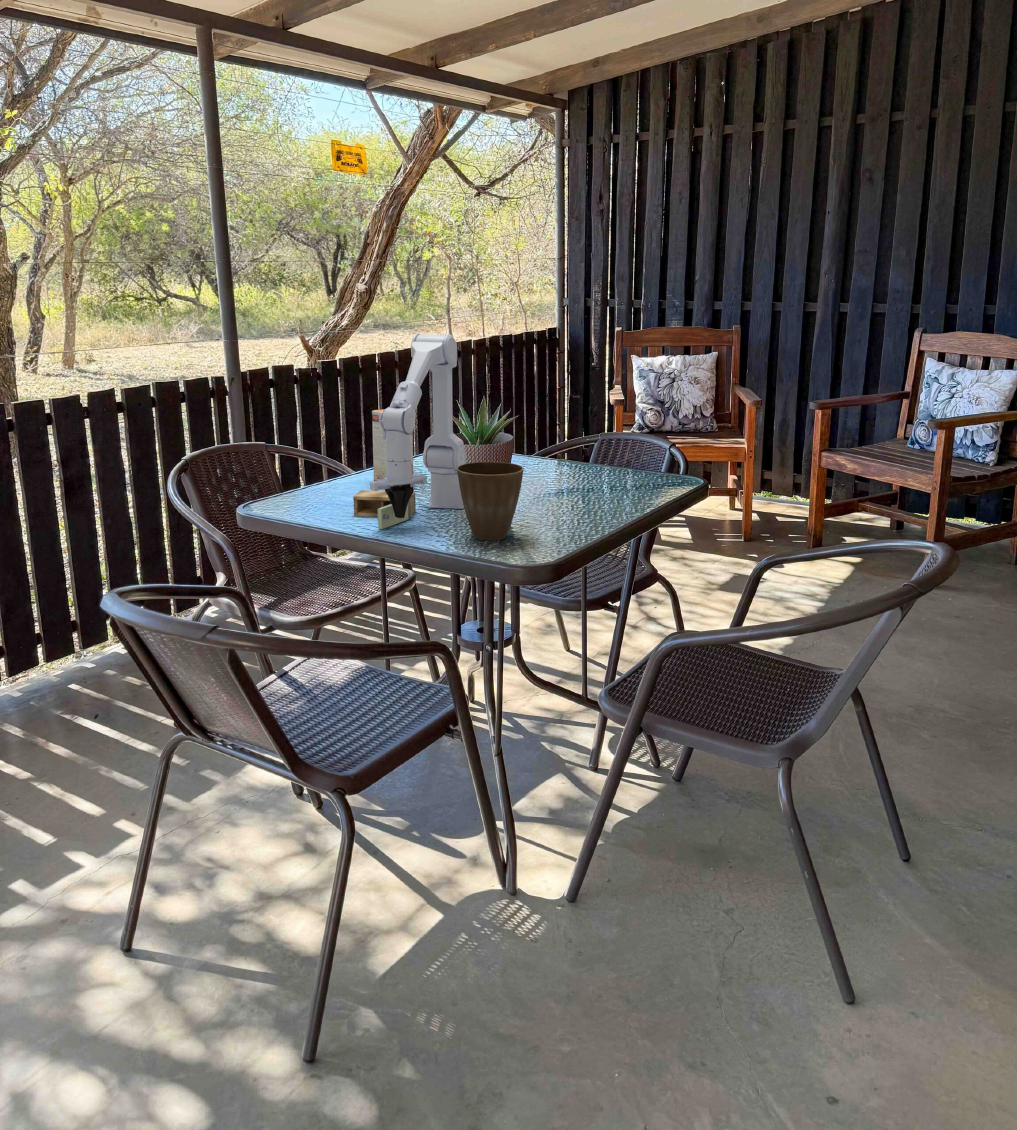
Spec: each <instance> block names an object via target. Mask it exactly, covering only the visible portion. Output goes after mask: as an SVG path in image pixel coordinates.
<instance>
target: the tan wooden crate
mask: <svg viewBox="0 0 1017 1130" xmlns="http://www.w3.org/2000/svg"><path fill="white" fill-rule="evenodd" d="M352 497H353V499H352V500H353V516H354V517H373V518H378V509H379V508H382V507H384V506H387V505H390V504H391V501H390V499H389V497H388V495H387V494H386V492H385V490H378V491H372V490H364V489H362V490H359V491H358V492H357V493H355V494H354V495H353V496H352ZM410 498H411V517H413V515H414V514H415V513H416V512H417V509H416V504H417V503H416V491H414V492H413V494H412V496H411V497H410Z"/></svg>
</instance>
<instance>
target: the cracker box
mask: <svg viewBox="0 0 1017 1130" xmlns="http://www.w3.org/2000/svg"><path fill="white" fill-rule="evenodd" d="M385 409H386V408H385ZM385 409H384V408H383V409H374V410H372V411H371V422H372V458H373V459H372V461H373V462H372V463H373V481H377V480H381V479H384V478H387V477H386V442H385V440H384V438H383V432H382V429H381V426H380V420H381V414H382V412H383V410H385ZM413 431H414V430H413ZM413 431H412V432H411V433H410V442H411V475H414V435H413ZM411 487H413V488H414V485H411Z"/></svg>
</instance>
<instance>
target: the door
mask: <svg viewBox="0 0 1017 1130" xmlns="http://www.w3.org/2000/svg"><path fill="white" fill-rule="evenodd" d="M411 519H412V516H411V498H410V500H409V502H408V505H407V508H406V513H405V517H404V518H397V517H395V514H394V510H393V507H392V504H390V505H387V506H384V507H382V508H379V509H378V517H377V527H378V528H377V529H378V530H384V529H386V528H389V527H391V526H394V525H397V524H399V523H402V522H405V521H407V520H411Z"/></svg>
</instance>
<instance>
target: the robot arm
mask: <svg viewBox="0 0 1017 1130" xmlns="http://www.w3.org/2000/svg"><path fill="white" fill-rule="evenodd" d="M410 353H411V358H412V359H411V363H410V366H409V369H408V373H407V376H406V379H405V381H401V382H400V383H399V384H398V386H397V388H396V391H395V393H394V395H393V397H392V400H391V402H390V405H389V406H388V407H387V408H385V410H384V409H382V410H383V412H382V414H381V420H380V426H381V429H382V432H383V438H384V440H385V442H386V477H387V478H384V479H381V480H377V481H374V480H373V481H369V491H383V490H384V491H385V492H386V494H387V495H388V497H389V499H390V501H391V504H392V507H393V510H394V514H395V517H397V518H404V517H405V513H406V508H407V505H408V502H409V500H410V497H411V496H412V494H413V492H415V491H414V490H415V489H414V486H415V485H427V484H428V476H427V475H426V474H415V475H414V474H413V475H411V442H410V433H411V432H412V431H414V428H415V425H416V416H417V412H416V409H417V407H418V405H419V402H420V400H421V397H422V396H423V393H422V392H423V391H422V389H421V386H422V384H423V382H424V380H425V378H426V377H427V375H428V372H429V370H430V372H431V377H432V381H431V382H432V385H431V386H432V387H431V388H432V428H433V429H432V431H433V433H432V435H431V436H429V437H428V438H427V439H426V440H425V441H424V448H423V449H424V450H423V452H422V462H423V465H424V466H425V468H426V469H427V471H428V473H430V502H429V503H428V504H427V505H426V507H427V509H431V508H433V509H455V510H456V509H457V510H458V509H459V510H463V509H464V505H463V501H462V497H461V492H460V486H459V480H458V473H457V467H458V466H460V465H463V464H466V458H467V457H466V451H465V445H464V441H463V439H461V438H460V437H458V436H457V435H456V434H455V433H454V427H453V426H454V423H453V417H454V414H453V412H454V411H453V369H454V368H456V367H457V366H458V363H457V362H458V343H457V340H456V339H455V338H454V335H452V334H449V333H448V334H424V333H423V334H421V333H415V334H414V335H413V337H412V339H411V343H410ZM411 485H413V487H411Z"/></svg>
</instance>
